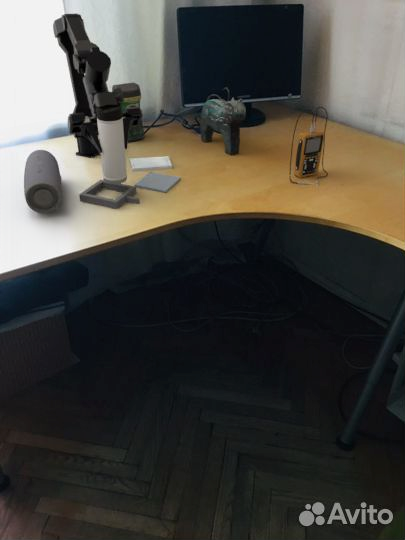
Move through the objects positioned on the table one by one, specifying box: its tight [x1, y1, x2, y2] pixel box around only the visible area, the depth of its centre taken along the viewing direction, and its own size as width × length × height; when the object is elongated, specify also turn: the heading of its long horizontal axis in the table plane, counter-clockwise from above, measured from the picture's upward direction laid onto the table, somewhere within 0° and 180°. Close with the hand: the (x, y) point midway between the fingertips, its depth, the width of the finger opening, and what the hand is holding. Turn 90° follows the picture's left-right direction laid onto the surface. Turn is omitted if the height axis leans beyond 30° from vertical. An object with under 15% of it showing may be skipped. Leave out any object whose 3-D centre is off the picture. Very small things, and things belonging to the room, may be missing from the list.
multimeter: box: [289, 106, 328, 187], centre depth 131 cm, size 15×10×20 cm
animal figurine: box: [199, 87, 247, 156], centre depth 151 cm, size 20×6×20 cm, turn 35°
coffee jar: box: [111, 82, 145, 143], centre depth 158 cm, size 10×8×19 cm
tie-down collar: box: [79, 179, 141, 210], centre depth 124 cm, size 15×10×2 cm
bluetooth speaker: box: [23, 149, 62, 214], centre depth 121 cm, size 23×9×10 cm, turn 17°
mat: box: [133, 171, 182, 194], centre depth 133 cm, size 10×10×1 cm
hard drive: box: [129, 155, 173, 172], centre depth 144 cm, size 2×8×12 cm
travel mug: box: [96, 102, 128, 184], centre depth 117 cm, size 6×7×20 cm
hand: (113, 150), depth 117 cm, fingers closed on travel mug, 6 cm apart
